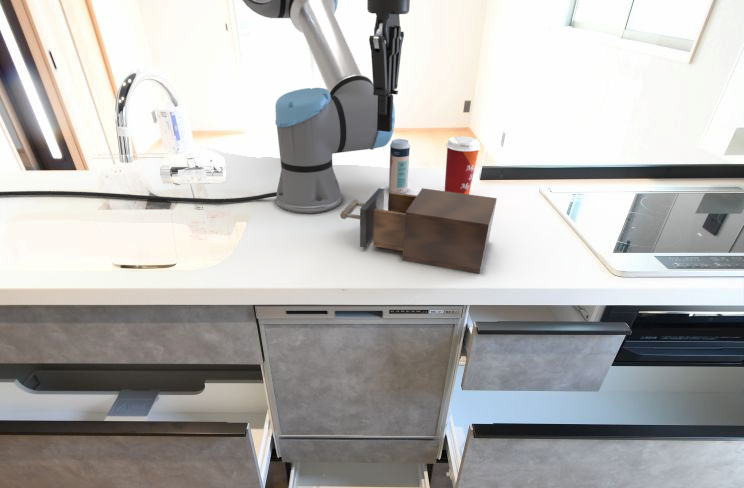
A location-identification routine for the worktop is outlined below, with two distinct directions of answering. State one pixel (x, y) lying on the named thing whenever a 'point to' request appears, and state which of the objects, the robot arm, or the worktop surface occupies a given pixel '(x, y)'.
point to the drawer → (381, 219)
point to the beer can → (399, 165)
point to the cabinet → (448, 229)
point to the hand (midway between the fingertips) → (384, 130)
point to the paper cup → (460, 163)
